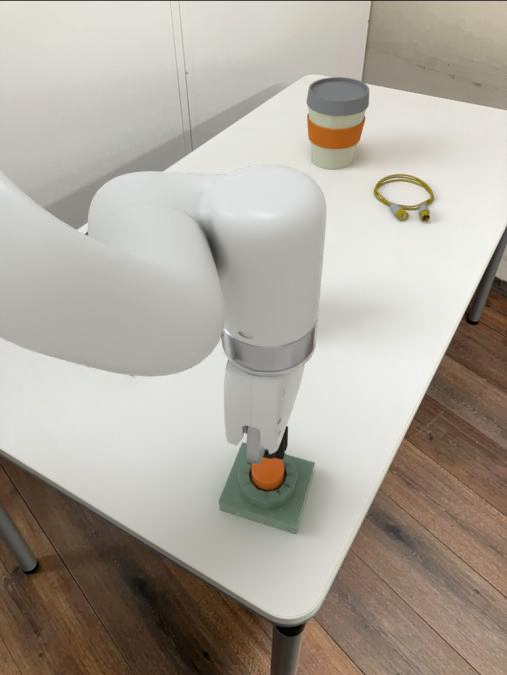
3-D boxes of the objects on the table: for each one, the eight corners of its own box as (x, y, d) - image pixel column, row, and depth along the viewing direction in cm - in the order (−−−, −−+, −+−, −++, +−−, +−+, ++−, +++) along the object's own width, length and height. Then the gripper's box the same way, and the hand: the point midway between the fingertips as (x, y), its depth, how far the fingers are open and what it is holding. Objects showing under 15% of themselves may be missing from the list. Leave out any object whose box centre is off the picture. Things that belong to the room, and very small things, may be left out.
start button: (247, 485, 56) (246, 477, 55) (257, 457, 59) (257, 449, 57) (278, 494, 55) (278, 487, 54) (287, 466, 58) (288, 458, 56)
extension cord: (362, 214, 98) (364, 205, 96) (381, 175, 108) (383, 166, 106) (427, 227, 94) (429, 218, 93) (440, 185, 104) (443, 176, 103)
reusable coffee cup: (292, 161, 112) (294, 90, 101) (325, 140, 119) (330, 72, 108) (339, 179, 107) (347, 107, 96) (371, 156, 113) (382, 86, 102)
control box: (219, 510, 58) (217, 494, 55) (242, 451, 63) (241, 433, 60) (295, 534, 56) (297, 519, 53) (313, 471, 61) (315, 454, 58)
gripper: (253, 260, 45) (258, 386, 59) (185, 389, 36) (210, 504, 49) (336, 276, 44) (322, 402, 57) (288, 416, 34) (285, 527, 47)
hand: (270, 449), depth 53 cm, fingers closed
